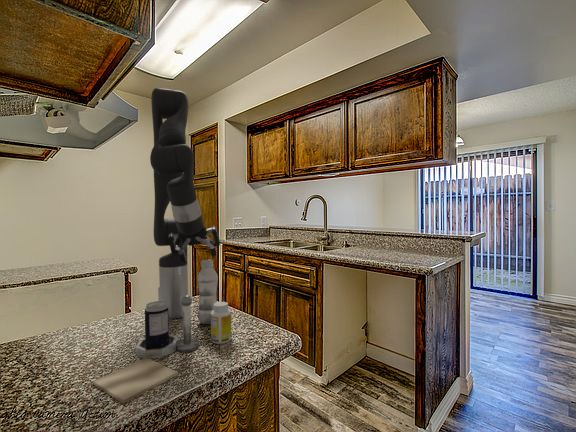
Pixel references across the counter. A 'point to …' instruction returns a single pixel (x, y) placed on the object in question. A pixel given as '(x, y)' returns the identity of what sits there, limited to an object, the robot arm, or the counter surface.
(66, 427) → the counter surface
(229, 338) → the supplement bottle
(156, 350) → the steel ring stand
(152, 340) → the beverage can
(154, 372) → the birch board
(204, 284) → the plastic bottle
